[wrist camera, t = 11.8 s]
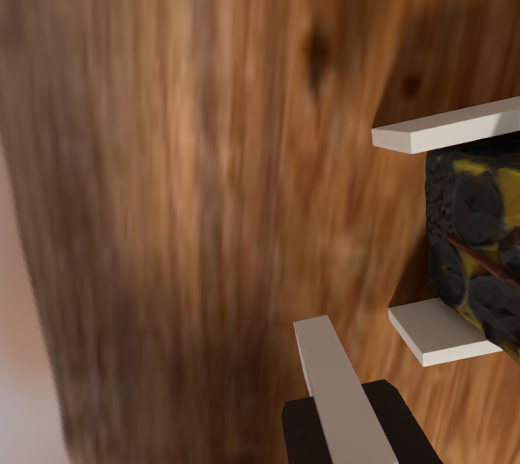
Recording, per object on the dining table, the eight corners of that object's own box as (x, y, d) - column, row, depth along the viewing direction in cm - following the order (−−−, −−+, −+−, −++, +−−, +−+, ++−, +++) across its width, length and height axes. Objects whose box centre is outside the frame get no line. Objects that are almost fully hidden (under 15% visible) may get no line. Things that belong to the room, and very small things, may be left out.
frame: (388, 319, 25) (423, 366, 20) (371, 128, 20) (410, 132, 15) (574, 280, 25) (653, 319, 20) (600, 78, 20) (711, 66, 15)
